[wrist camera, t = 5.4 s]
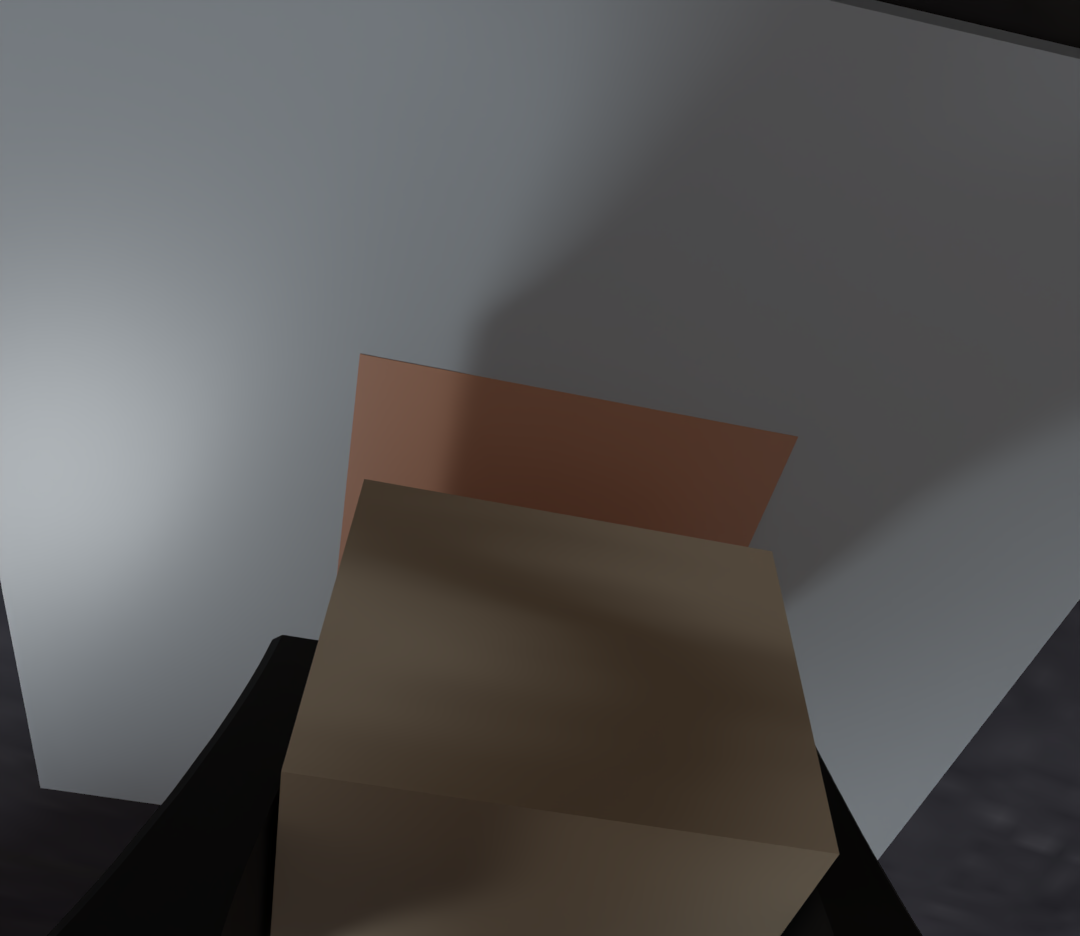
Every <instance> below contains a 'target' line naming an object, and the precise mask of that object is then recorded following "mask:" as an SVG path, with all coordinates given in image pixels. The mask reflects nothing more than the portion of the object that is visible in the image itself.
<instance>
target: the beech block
mask: <svg viewBox="0 0 1080 936" xmlns="http://www.w3.org/2000/svg"><path fill="white" fill-rule="evenodd" d="M838 855H839V850H838V845H837V841H836V836H835V832H834V827H833V823H832V818H831V814H830V809H829V805H828V800H827V796H826V791H825V787H824V782H823V778H822V773H821V769H820V764H819V760H818V755H817V751H816V746H815V742H814V737H813V733H812V728H811V724H810V719H809V715H808V710H807V706H806V701H805V697H804V692H803V688H802V683H801V679H800V674H799V670H798V665H797V661H796V656H795V652H794V647H793V643H792V638H791V634H790V629H789V625H788V620H787V616H786V611H785V607H784V602H783V598H782V593H781V589H780V585H779V580H778V576H777V571H776V567H775V562H774V558H773V553H772V551H767V550H762V549H756V548H750V547H745V546H739V545H734V544H728V543H722V542H717V541H711V540H705V539H700V538H694V537H688V536H683V535H677V534H672V533H666V532H660V531H655V530H649V529H643V528H638V527H632V526H627V525H621V524H615V523H610V522H604V521H598V520H593V519H587V518H582V517H576V516H570V515H565V514H559V513H553V512H548V511H542V510H536V509H531V508H525V507H520V506H514V505H508V504H503V503H497V502H491V501H486V500H480V499H475V498H469V497H463V496H458V495H452V494H446V493H441V492H435V491H429V490H424V489H418V488H413V487H407V486H401V485H396V484H390V483H384V482H379V481H373V480H368V479H364V482H363V485H362V489H361V492H360V496H359V499H358V503H357V506H356V510H355V513H354V517H353V520H352V524H351V527H350V531H349V535H348V538H347V542H346V545H345V549H344V552H343V556H342V559H341V563H340V566H339V570H338V573H337V577H336V580H335V584H334V587H333V591H332V594H331V598H330V601H329V605H328V608H327V612H326V615H325V619H324V623H323V626H322V630H321V633H320V637H319V640H318V644H317V647H316V651H315V654H314V658H313V661H312V665H311V668H310V672H309V675H308V679H307V682H306V686H305V689H304V693H303V696H302V700H301V703H300V707H299V711H298V714H297V718H296V721H295V725H294V728H293V732H292V735H291V739H290V742H289V746H288V749H287V753H286V756H285V760H284V763H283V767H282V770H281V782H280V797H279V813H278V828H277V843H276V859H275V874H274V889H273V904H272V920H271V935H270V936H780V935H781V934H782V933H783V931H784V930H785V929H786V927H787V926H788V924H789V923H790V922H791V920H792V919H793V918H794V916H795V915H796V913H797V912H798V911H799V909H800V908H801V906H802V905H803V904H804V902H805V901H806V900H807V898H808V897H809V895H810V894H811V893H812V891H813V890H814V889H815V887H816V886H817V884H818V883H819V882H820V880H821V879H822V878H823V876H824V875H825V873H826V872H827V871H828V869H829V868H830V867H831V865H832V864H833V862H834V861H835V860H836V858H837V857H838Z"/></svg>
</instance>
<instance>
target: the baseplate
mask: <svg viewBox="0 0 1080 936" xmlns="http://www.w3.org/2000/svg"><path fill="white" fill-rule="evenodd" d="M364 479H368V480H373V481H379V482H384V483H390V484H396V485H401V486H407V487H413V488H418V489H424V490H429V491H435V492H441V493H446V494H452V495H458V496H463V497H469V498H475V499H480V500H486V501H491V502H497V503H503V504H508V505H514V506H520V507H525V508H531V509H536V510H542V511H548V512H553V513H559V514H565V515H570V516H576V517H582V518H587V519H593V520H598V521H604V522H610V523H615V524H621V525H627V526H632V527H638V528H643V529H649V530H655V531H660V532H666V533H672V534H677V535H683V536H688V537H694V538H700V539H705V540H711V541H717V542H722V543H728V544H734V545H739V546H745V547H750V548H756V549H762V550H767V551H772V553H773V558H774V562H775V567H776V571H777V576H778V580H779V585H780V589H781V593H782V598H783V602H784V607H785V611H786V616H787V620H788V625H789V629H790V634H791V638H792V643H793V647H794V652H795V656H796V661H797V665H798V670H799V674H800V679H801V683H802V688H803V692H804V697H805V701H806V706H807V710H808V715H809V719H810V724H811V728H812V733H813V737H814V742H815V746H816V748H817V749H818V751H819V753H820V755H821V757H822V759H823V761H824V763H825V765H826V767H827V769H828V770H829V772H830V774H831V776H832V778H833V780H834V782H835V784H836V786H837V787H838V789H839V791H840V793H841V795H842V797H843V799H844V801H845V802H846V804H847V806H848V808H849V810H850V812H851V813H852V815H853V817H854V819H855V821H856V823H857V824H858V826H859V828H860V830H861V832H862V834H863V835H864V837H865V839H866V841H867V842H868V844H869V846H870V848H871V850H872V851H873V853H874V855H875V857H876V858H877V860H878V859H879V858H880V856H881V855H882V854H883V853H884V851H885V850H886V849H887V847H888V846H889V845H890V844H891V842H892V841H893V840H894V838H895V837H896V836H897V835H898V833H899V832H900V831H901V829H902V828H903V827H904V825H905V824H906V823H907V822H908V820H909V819H910V818H911V816H912V815H913V814H914V813H915V811H916V810H917V809H918V807H919V806H920V805H921V804H922V802H923V801H924V800H925V798H926V797H927V796H928V794H929V793H930V792H931V791H932V789H933V788H934V787H935V785H936V784H937V783H938V782H939V780H940V779H941V778H942V776H943V775H944V774H945V772H946V771H947V770H948V769H949V767H950V766H951V765H952V763H953V762H954V761H955V760H956V758H957V757H958V756H959V754H960V753H961V752H962V751H963V749H964V748H965V747H966V745H967V744H968V743H969V741H970V740H971V739H972V738H973V736H974V735H975V734H976V732H977V731H978V730H979V729H980V727H981V726H982V725H983V723H984V722H985V721H986V719H987V718H988V717H989V716H990V714H991V713H992V712H993V710H994V709H995V708H996V707H997V705H998V704H999V703H1000V701H1001V700H1002V699H1003V698H1004V696H1005V695H1006V694H1007V692H1008V691H1009V690H1010V688H1011V687H1012V686H1013V685H1014V683H1015V682H1016V681H1017V679H1018V678H1019V677H1020V676H1021V674H1022V673H1023V672H1024V670H1025V669H1026V668H1027V666H1028V665H1029V664H1030V663H1031V661H1032V660H1033V659H1034V657H1035V656H1036V655H1037V654H1038V652H1039V651H1040V650H1041V648H1042V647H1043V646H1044V645H1045V643H1046V642H1047V641H1048V639H1049V638H1050V637H1051V635H1052V634H1053V633H1054V632H1055V630H1056V629H1057V628H1058V626H1059V625H1060V624H1061V623H1062V621H1063V620H1064V619H1065V617H1066V616H1067V615H1068V614H1069V612H1070V611H1071V610H1072V608H1073V607H1074V606H1075V604H1076V603H1077V602H1078V601H1079V599H1080V48H1076V47H1071V46H1067V45H1063V44H1059V43H1055V42H1050V41H1046V40H1042V39H1038V38H1033V37H1029V36H1025V35H1021V34H1016V33H1012V32H1008V31H1004V30H999V29H995V28H991V27H987V26H982V25H978V24H974V23H970V22H965V21H961V20H957V19H953V18H948V17H944V16H940V15H936V14H931V13H927V12H923V11H919V10H914V9H910V8H906V7H902V6H897V5H893V4H889V3H885V2H881V1H876V0H0V581H1V586H2V591H3V597H4V602H5V607H6V612H7V617H8V622H9V628H10V633H11V638H12V643H13V648H14V653H15V659H16V664H17V669H18V674H19V679H20V684H21V690H22V695H23V700H24V705H25V710H26V715H27V721H28V726H29V731H30V736H31V741H32V746H33V752H34V757H35V762H36V767H37V772H38V777H39V783H40V788H46V789H53V790H60V791H67V792H74V793H81V794H88V795H95V796H102V797H109V798H116V799H123V800H130V801H137V802H144V803H151V804H158V805H162V803H163V802H164V801H165V800H166V798H167V797H168V796H169V795H170V793H171V792H172V791H173V789H174V788H175V787H176V785H177V784H178V783H179V781H180V780H181V779H182V777H183V776H184V775H185V773H186V772H187V771H188V769H189V768H190V766H191V765H192V764H193V762H194V761H195V760H196V758H197V757H198V756H199V754H200V753H201V752H202V750H203V749H204V748H205V746H206V745H207V743H208V742H209V741H210V739H211V738H212V737H213V735H214V734H215V732H216V731H217V729H218V728H219V726H220V725H221V724H222V722H223V721H224V719H225V718H226V716H227V715H228V713H229V712H230V710H231V709H232V707H233V706H234V704H235V703H236V701H237V700H238V698H239V697H240V695H241V693H242V692H243V690H244V689H245V687H246V685H247V684H248V682H249V681H250V679H251V677H252V676H253V674H254V672H255V670H256V669H257V667H258V665H259V664H260V662H261V660H262V658H263V656H264V654H265V653H266V651H267V649H268V647H269V645H270V643H271V641H272V639H274V638H276V637H279V636H281V635H288V636H294V637H300V638H306V639H313V640H319V637H320V633H321V630H322V626H323V623H324V619H325V615H326V612H327V608H328V605H329V601H330V598H331V594H332V591H333V587H334V584H335V580H336V577H337V573H338V570H339V566H340V563H341V559H342V556H343V552H344V549H345V545H346V542H347V538H348V535H349V531H350V527H351V524H352V520H353V517H354V513H355V510H356V506H357V503H358V499H359V496H360V492H361V489H362V485H363V482H364Z"/></svg>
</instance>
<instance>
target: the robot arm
mask: <svg viewBox="0 0 1080 936" xmlns="http://www.w3.org/2000/svg"><path fill="white" fill-rule="evenodd" d="M317 644H318V640H313V639H306V638H300V637H294V636H288V635H281V636H279V637H276V638H274V639H272V641H271V643H270V645H269V647H268V649H267V651H266V653H265V654H264V656H263V658H262V660H261V662H260V664H259V665H258V667H257V669H256V670H255V672H254V674H253V676H252V677H251V679H250V681H249V682H248V684H247V685H246V687H245V689H244V690H243V692H242V693H241V695H240V697H239V698H238V700H237V701H236V703H235V704H234V706H233V707H232V709H231V710H230V712H229V713H228V715H227V716H226V718H225V719H224V721H223V722H222V724H221V725H220V726H219V728H218V729H217V731H216V732H215V734H214V735H213V737H212V738H211V739H210V741H209V742H208V743H207V745H206V746H205V748H204V749H203V750H202V752H201V753H200V754H199V756H198V757H197V758H196V760H195V761H194V762H193V764H192V765H191V766H190V768H189V769H188V771H187V772H186V773H185V775H184V776H183V777H182V779H181V780H180V781H179V783H178V784H177V785H176V787H175V788H174V789H173V791H172V792H171V793H170V795H169V796H168V797H167V798H166V800H165V801H164V802H163V803H162V805H161V806H160V807H159V808H158V809H157V811H156V812H155V813H154V814H153V816H152V817H151V818H150V819H149V820H148V822H147V823H146V824H145V825H144V826H143V828H142V829H141V830H140V831H139V832H138V834H137V835H136V836H135V837H134V839H133V840H132V841H131V842H130V843H129V845H128V846H127V847H126V848H125V849H124V851H123V852H122V853H121V854H120V855H119V857H118V858H117V859H116V860H115V861H114V863H113V864H112V865H111V866H110V867H109V868H108V870H107V871H106V872H105V873H104V874H103V875H102V876H101V877H100V879H99V880H98V881H97V882H96V883H95V884H94V885H93V887H92V888H91V889H90V890H89V891H88V892H87V893H86V894H85V895H84V897H83V898H82V899H81V900H80V901H79V902H78V903H77V904H76V905H75V906H74V908H73V909H72V910H71V911H70V912H69V913H68V914H67V915H66V916H65V917H64V918H63V919H62V920H61V921H60V922H59V924H58V925H57V926H56V927H55V928H54V929H53V930H52V931H51V932H50V933H49V934H48V935H47V936H270V934H271V920H272V904H273V889H274V874H275V859H276V843H277V828H278V813H279V797H280V782H281V770H282V767H283V763H284V760H285V756H286V753H287V749H288V746H289V742H290V739H291V735H292V732H293V728H294V725H295V721H296V718H297V714H298V711H299V707H300V703H301V700H302V696H303V693H304V689H305V686H306V682H307V679H308V675H309V672H310V668H311V665H312V661H313V658H314V654H315V651H316V647H317ZM816 751H817V755H818V760H819V764H820V769H821V773H822V778H823V782H824V787H825V791H826V796H827V800H828V805H829V809H830V814H831V818H832V823H833V827H834V832H835V836H836V841H837V845H838V850H839V855H838V857H837V858H836V860H835V861H834V862H833V864H832V865H831V867H830V868H829V869H828V871H827V872H826V873H825V875H824V876H823V878H822V879H821V880H820V882H819V883H818V884H817V886H816V887H815V889H814V890H813V891H812V893H811V894H810V895H809V897H808V898H807V900H806V901H805V902H804V904H803V905H802V906H801V908H800V909H799V911H798V912H797V913H796V915H795V916H794V918H793V919H792V920H791V922H790V923H789V924H788V926H787V927H786V929H785V930H784V931H783V933H782V934H781V935H780V936H922V934H921V933H920V931H919V929H918V928H917V926H916V924H915V923H914V921H913V920H912V918H911V916H910V915H909V913H908V911H907V910H906V908H905V906H904V905H903V903H902V901H901V900H900V898H899V896H898V894H897V893H896V891H895V889H894V888H893V886H892V884H891V882H890V881H889V879H888V877H887V876H886V874H885V872H884V870H883V869H882V867H881V865H880V864H879V862H878V860H877V858H876V857H875V855H874V853H873V851H872V850H871V848H870V846H869V844H868V842H867V841H866V839H865V837H864V835H863V834H862V832H861V830H860V828H859V826H858V824H857V823H856V821H855V819H854V817H853V815H852V813H851V812H850V810H849V808H848V806H847V804H846V802H845V801H844V799H843V797H842V795H841V793H840V791H839V789H838V787H837V786H836V784H835V782H834V780H833V778H832V776H831V774H830V772H829V770H828V769H827V767H826V765H825V763H824V761H823V759H822V757H821V755H820V753H819V751H818V749H817V748H816Z"/></svg>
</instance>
